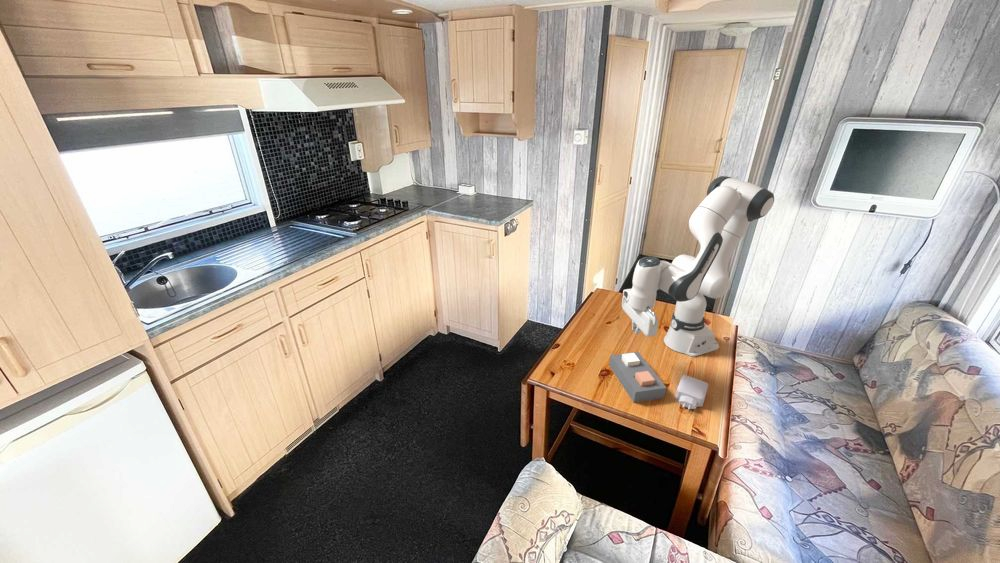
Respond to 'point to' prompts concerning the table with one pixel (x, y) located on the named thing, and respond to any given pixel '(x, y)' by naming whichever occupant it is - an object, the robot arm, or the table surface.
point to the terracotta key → (644, 378)
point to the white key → (630, 359)
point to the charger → (691, 392)
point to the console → (629, 382)
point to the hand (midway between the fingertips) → (635, 332)
